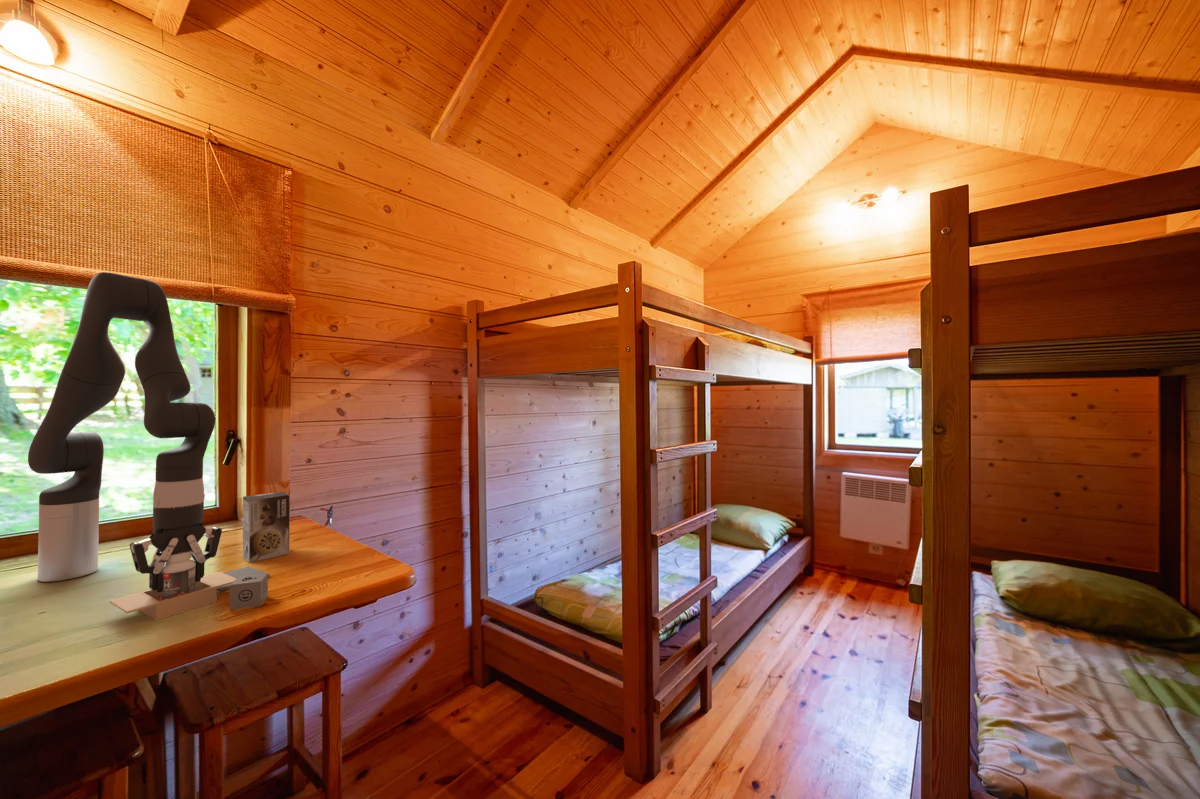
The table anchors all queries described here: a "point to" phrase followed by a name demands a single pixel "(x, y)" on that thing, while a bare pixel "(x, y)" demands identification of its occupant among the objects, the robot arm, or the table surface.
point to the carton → (174, 598)
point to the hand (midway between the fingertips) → (177, 585)
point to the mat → (238, 573)
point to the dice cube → (248, 591)
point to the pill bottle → (178, 576)
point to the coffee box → (265, 526)
